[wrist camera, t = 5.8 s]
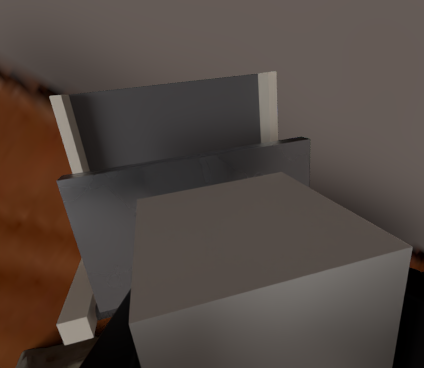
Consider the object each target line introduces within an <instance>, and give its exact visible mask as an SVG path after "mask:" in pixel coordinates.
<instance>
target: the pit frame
mask: <svg viewBox="0 0 424 368" xmlns="http://www.w3.org/2000/svg"><path fill="white" fill-rule="evenodd" d="M49 97H50V100H51V104H52V107H53V110H54V114H55V117H56V120H57V123H58V127H59V130H60V133H61V137H62V140H63V143H64V147H65V150H66V153H67V156H68V160H69V163H70V166H71V170H72V173H73V174H75V173H81V172H87V171H93V170H100V169H106V168H112V167H118V166H124V165H130V164H137V163H143V162H149V161H155V160H161V159H167V158H174V157H180V156H186V155H192V154H198V153H204V152H211V151H217V150H223V149H229V148H235V147H241V146H248V145H254V144H260V143H266V142H272V141H278V111H277V71H273V72H265V73H259V74H251V75H243V76H233V77H224V78H215V79H206V80H197V81H188V82H179V83H170V84H161V85H152V86H143V87H134V88H125V89H117V90H107V91H98V92H90V93H80V94H71V95H56V96H49ZM95 306H96V300H95V297H94V294H93V291H92V288H91V285H90V282H89V279H88V276H87V272H86V269H85V266H84V263H83V260H82V259H81V261H80V264H79V266H78V269H77V272H76V274H75V277H74V280H73V282H72V285H71V287H70V290H69V293H68V295H67V298H66V301H65V303H64V306H63V308H62V311H61V314H60V316H59V319H58V322H57V324H56V325H57V328H58V330H59V332H60V335H61V337H62V340H63V342H64V345H68V344H72V343H76V342H79V341H83V340H87V339H90V338H94V334H95V329H96V324H97V317H96V313H95Z"/></svg>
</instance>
